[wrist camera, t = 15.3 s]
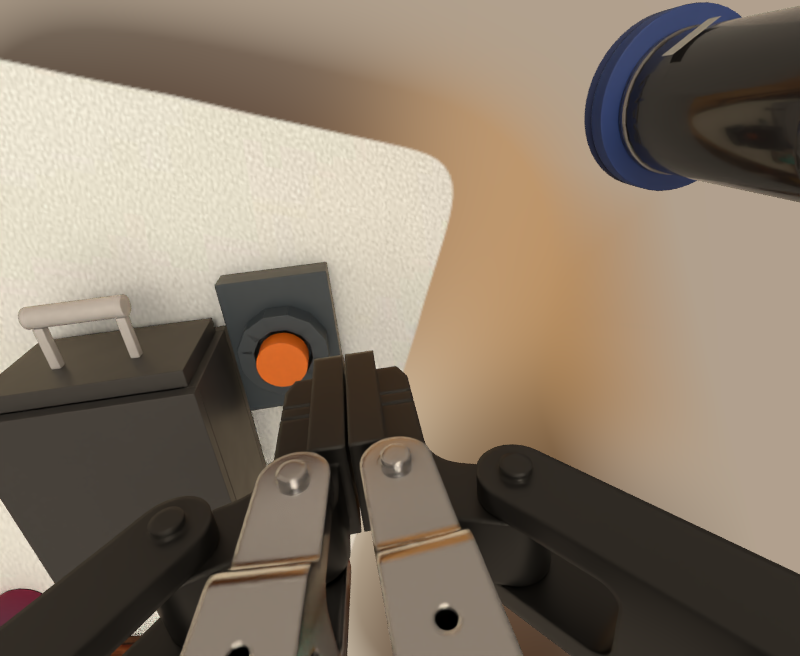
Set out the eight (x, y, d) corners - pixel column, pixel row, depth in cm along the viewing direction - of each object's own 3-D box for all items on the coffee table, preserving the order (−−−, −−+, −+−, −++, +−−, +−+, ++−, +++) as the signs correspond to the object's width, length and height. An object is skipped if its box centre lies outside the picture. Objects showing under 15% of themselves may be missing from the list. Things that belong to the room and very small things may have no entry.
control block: (220, 275, 36) (208, 294, 32) (326, 261, 36) (326, 279, 33) (254, 395, 40) (246, 424, 37) (346, 382, 41) (348, 408, 37)
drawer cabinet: (45, 350, 36) (-45, 428, 28) (226, 325, 37) (193, 393, 29) (114, 491, 43) (59, 590, 34) (266, 466, 44) (250, 557, 35)
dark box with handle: (13, 287, 33) (-73, 337, 26) (195, 263, 34) (160, 306, 27) (107, 477, 41) (60, 556, 34) (252, 454, 42) (236, 526, 35)
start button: (254, 335, 34) (250, 347, 33) (304, 329, 34) (302, 339, 33) (265, 377, 36) (262, 390, 34) (312, 370, 36) (311, 383, 34)
